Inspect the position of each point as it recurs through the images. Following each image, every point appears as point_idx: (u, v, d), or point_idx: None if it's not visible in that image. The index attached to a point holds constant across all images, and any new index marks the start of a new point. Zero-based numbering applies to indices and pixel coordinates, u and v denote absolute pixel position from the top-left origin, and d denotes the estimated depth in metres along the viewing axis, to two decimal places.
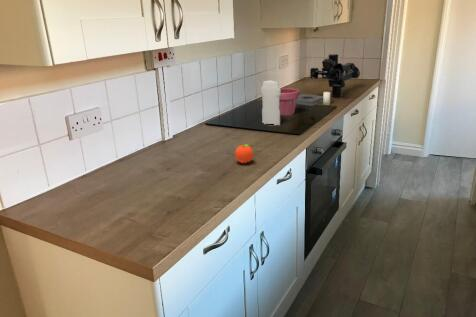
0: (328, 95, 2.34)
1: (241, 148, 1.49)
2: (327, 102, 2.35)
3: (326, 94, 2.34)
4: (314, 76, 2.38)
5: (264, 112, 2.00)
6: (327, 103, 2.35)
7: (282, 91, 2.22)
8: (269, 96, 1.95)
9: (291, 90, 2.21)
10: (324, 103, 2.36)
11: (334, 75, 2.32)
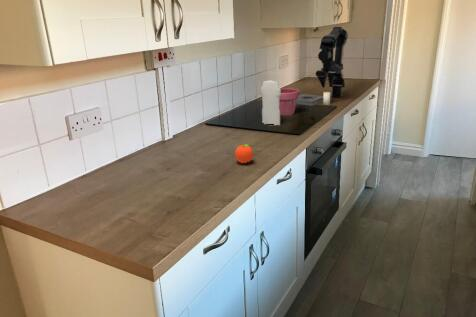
0: (328, 95, 2.34)
1: (241, 148, 1.49)
2: (327, 102, 2.35)
3: (326, 94, 2.34)
4: None
5: (264, 112, 2.00)
6: (327, 103, 2.35)
7: (282, 91, 2.22)
8: (269, 96, 1.95)
9: (291, 90, 2.21)
10: (324, 103, 2.36)
11: None
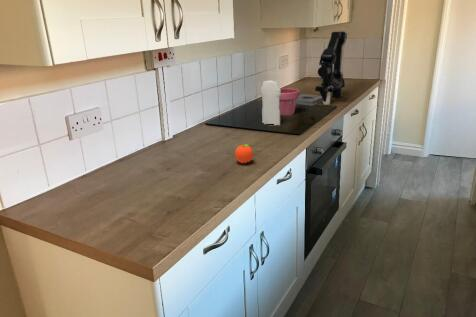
0: (328, 95, 2.34)
1: (241, 148, 1.49)
2: (327, 102, 2.35)
3: None
4: None
5: (264, 112, 2.00)
6: (327, 103, 2.35)
7: (282, 91, 2.22)
8: (269, 96, 1.95)
9: (291, 90, 2.21)
10: (324, 103, 2.36)
11: None
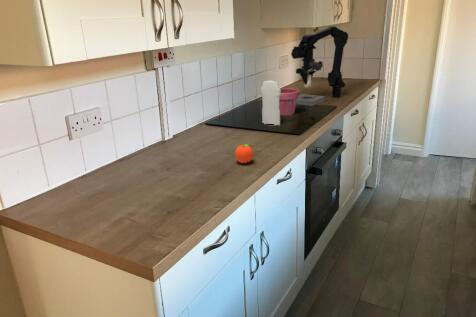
0: (309, 78, 2.38)
1: (241, 148, 1.49)
2: (308, 85, 2.40)
3: None
4: None
5: (264, 112, 2.00)
6: (308, 86, 2.40)
7: (282, 91, 2.22)
8: (269, 96, 1.95)
9: (291, 90, 2.21)
10: (305, 86, 2.40)
11: None
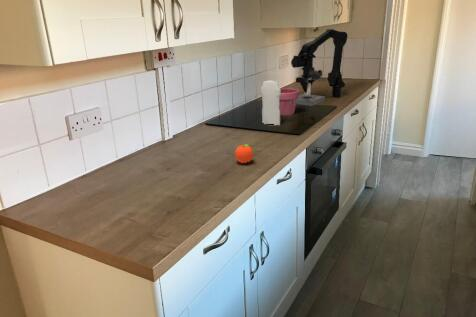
0: (309, 86, 2.40)
1: (241, 148, 1.49)
2: (308, 93, 2.41)
3: None
4: None
5: (264, 112, 2.00)
6: (308, 94, 2.42)
7: (282, 91, 2.22)
8: (269, 96, 1.95)
9: (291, 90, 2.21)
10: (305, 94, 2.42)
11: None
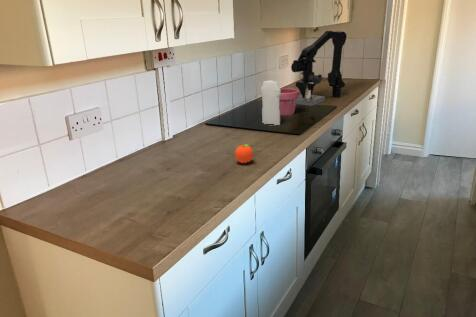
0: (308, 93, 2.42)
1: (241, 148, 1.49)
2: None
3: (306, 92, 2.41)
4: None
5: (264, 112, 2.00)
6: None
7: (282, 91, 2.22)
8: (269, 96, 1.95)
9: (291, 90, 2.21)
10: None
11: None
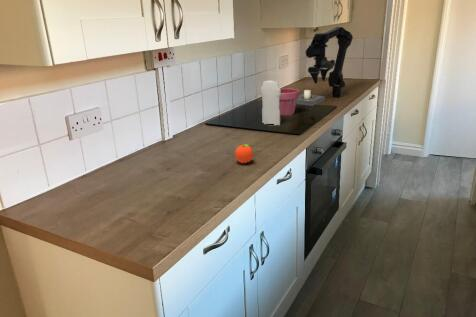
0: (308, 93, 2.42)
1: (241, 148, 1.49)
2: None
3: (306, 92, 2.41)
4: None
5: (264, 112, 2.00)
6: None
7: (282, 91, 2.22)
8: (269, 96, 1.95)
9: (291, 90, 2.21)
10: None
11: None
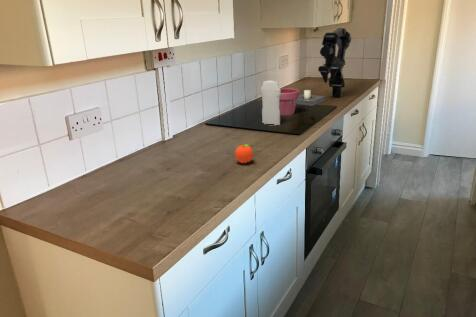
0: (308, 93, 2.42)
1: (241, 148, 1.49)
2: None
3: (306, 92, 2.41)
4: None
5: (264, 112, 2.00)
6: None
7: (282, 91, 2.22)
8: (269, 96, 1.95)
9: (291, 90, 2.21)
10: None
11: None
